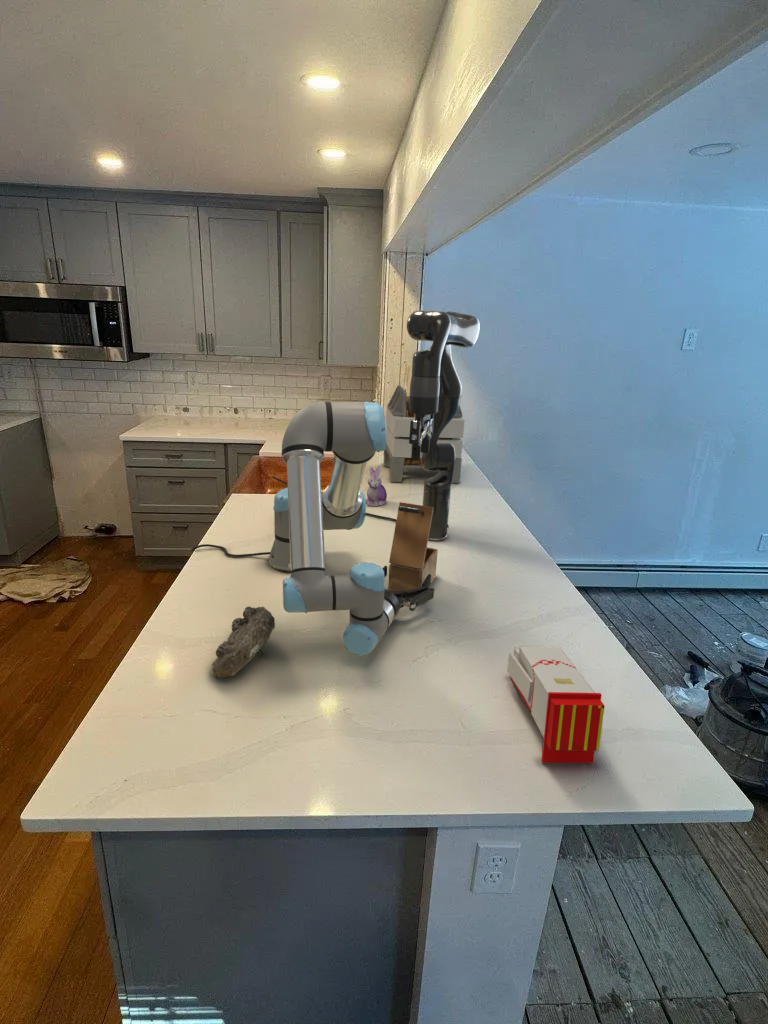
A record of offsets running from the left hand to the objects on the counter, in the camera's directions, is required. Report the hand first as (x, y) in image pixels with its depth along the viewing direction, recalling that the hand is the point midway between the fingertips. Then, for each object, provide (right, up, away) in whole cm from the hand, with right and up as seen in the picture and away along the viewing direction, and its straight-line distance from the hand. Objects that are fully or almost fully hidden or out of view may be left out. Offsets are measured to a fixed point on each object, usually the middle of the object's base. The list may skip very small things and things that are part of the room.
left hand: (407, 574), depth 156 cm
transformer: (+11, +36, +119) cm, 125 cm away
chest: (+2, -4, +7) cm, 8 cm away
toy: (+26, -23, -42) cm, 55 cm away
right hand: (+3, +32, -6) cm, 33 cm away
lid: (+1, +11, -2) cm, 11 cm away
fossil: (-37, -15, -28) cm, 49 cm away
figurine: (-10, +21, +74) cm, 78 cm away
